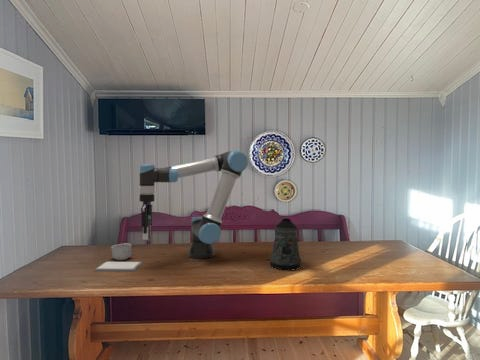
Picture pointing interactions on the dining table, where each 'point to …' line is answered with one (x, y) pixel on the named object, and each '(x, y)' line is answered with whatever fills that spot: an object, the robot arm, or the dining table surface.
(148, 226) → the marker
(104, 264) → the small whiteboard
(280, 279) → the dining table surface
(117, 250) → the teacup
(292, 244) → the beer stein
